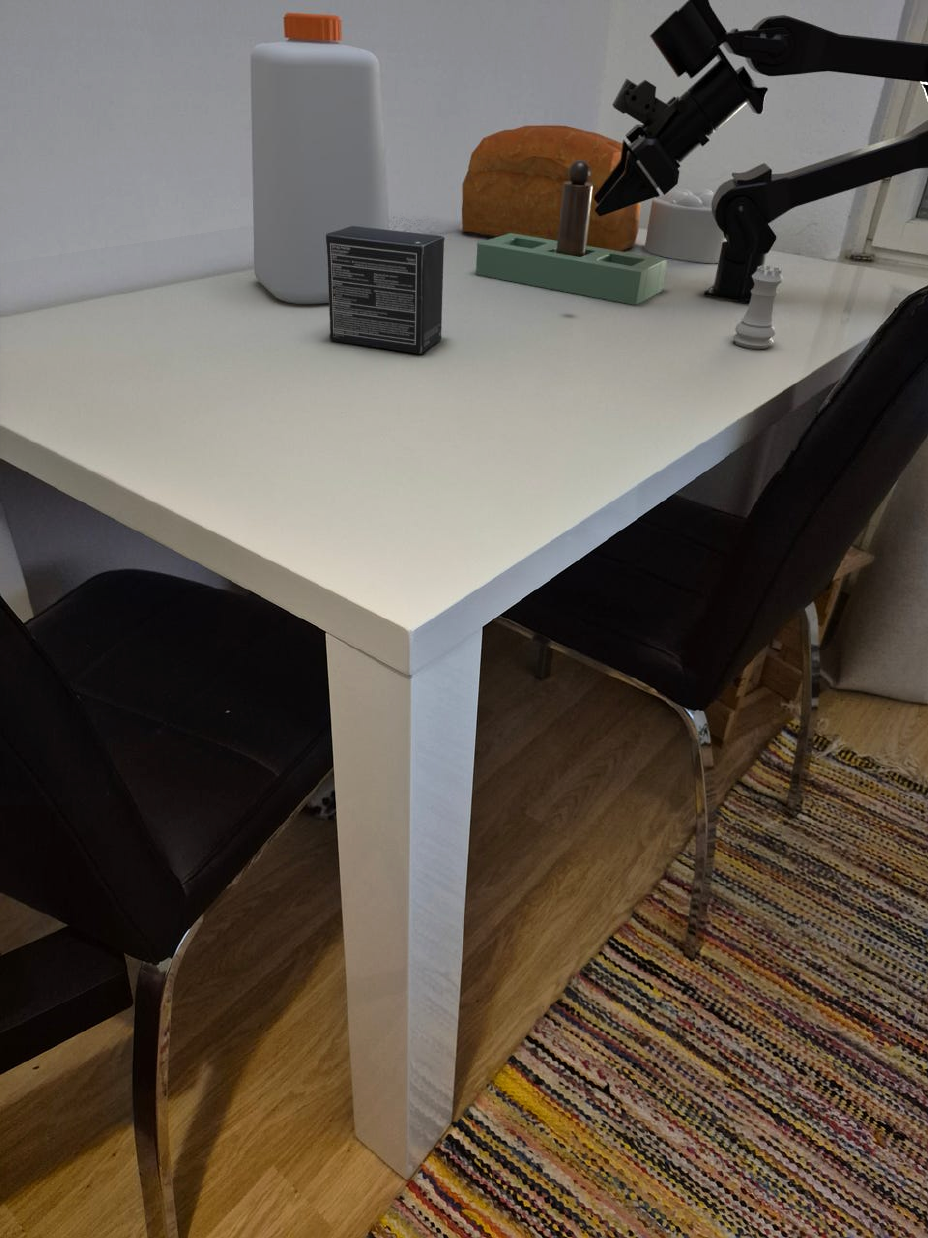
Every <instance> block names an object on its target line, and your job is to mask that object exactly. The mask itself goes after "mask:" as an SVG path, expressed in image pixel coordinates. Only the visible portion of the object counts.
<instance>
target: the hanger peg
mask: <svg viewBox="0 0 928 1238" xmlns="http://www.w3.org/2000/svg"><path fill="white" fill-rule="evenodd" d="M590 175H591V169H590V166H589V165H588V163H587V162H585V161H583V160H578V161H575V162H574V163H572V165H571V166H570V168H569V171H568V176H569V179H570V181H567V182H564V183H563V190H562V200H561V210H560V220H559V230H558V240H557V250H556V253H559V254H565V255H571V256H577V257H582V256H585V252H586V244H587V235H588V227H589V218H590V210H591V201H592V193H593V184H591V183H588V182H587V181H588V180H589V178H590Z"/></svg>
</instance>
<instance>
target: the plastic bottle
mask: <svg viewBox="0 0 928 1238" xmlns="http://www.w3.org/2000/svg"><path fill="white" fill-rule="evenodd" d="M283 28H284V29H283V30H284V32H283V33H284V38H285V39H287V40H283V41H275V42H266V43H265V42H264V43H259V44H257V45H255V46H254V47H253V48H252V50H251V52H250V107H251V109H250V110H251V161H252V164H251V165H252V216H253V217H252V221H253V225H252V226H253V268H254V269H253V271H254V276H255V278H256V280H257V281H258V282H259V283H260V284H261V285H262V286H264V288H265V289H267V291H268V292H270V294H272V295H273V296H274V297H275V298H276V299H278V300H279V301H282V302H284V303H288V304H289V303H290V304H296V305H319V304H329V285H328V257H327V244H326V234H327V233H331V232H334V231H338V230H341V229H345V228H348V227H351V226H357V227H367V228H375V229H384V230H391V226H390V210H389V209H390V208H389V193H388V192H389V191H388V179H387V165H386V163H387V162H386V147H385V133H384V132H385V131H384V116H383V102H382V83H381V69H380V61H379V60H378V58H377V57H376V55H375V54H374V53H373V52H372V51H370V50H368V49H367V50H366V49H363V48H359V47H355V46H353V45H352V46H351V45H347V44H343V43H340V41H343V35H342V33H343V32H342V30H343V29H342V28H343V27H342V19H341V17H340V16H339V15H336V14H321V13H320V14H318V13H301V12H286V13H285V14H284V16H283Z"/></svg>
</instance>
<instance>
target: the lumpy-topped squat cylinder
mask: <svg viewBox="0 0 928 1238" xmlns="http://www.w3.org/2000/svg"><path fill="white" fill-rule="evenodd" d="M715 193H716V192H713V191H712V190H711V189H707V188H703V189H699V190H696V191H694V192H693V193H692V192H691V190H689V189H688V188H681V187H680V188H676V189H674V190H670V191H669V192H668V193H666V194H665V195H664V194H663V193H662V194H660V196H659V197H654V198H652V200H651V205H650V212H649V217H648V224H647V231H646V236H645V243H644V250H645V251H647V252H648V253H651V254H654V255H655V256H660V257H662V258H663V257H664V258H666V259H674V260H680V261H687V262H693V263H702V264H718V263H719V258H720V253H721V248H722V243H723V242H725V241H727V240H726V238H724V234H723V232H722V230H721V229H720V228H719V227H718V225H717V223H716V221H715V219H714V216H713V213H712V206H711V203H712V200H713V196H714V194H715Z"/></svg>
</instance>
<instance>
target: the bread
mask: <svg viewBox="0 0 928 1238" xmlns="http://www.w3.org/2000/svg"><path fill="white" fill-rule="evenodd" d="M621 152H622V142H620V141H617V140H616V139H613V138H611V137H608V136H605V135H603V134H600V133H597V132H594V131H588V130H584V129H580V128H576V127H571V126H568V125H555V124H554V125H553V124H552V125H551V124H550V125H548V124H547V125H523V126H520V127H517V128H513V129H503V130H500V131H497V132H495V133H492V134H490V135H487V136H485V137H483V138H482V140H481V141H480V142H479V144H477V146H476V147H475V149H474V150H473V151H472V152H471V155H470V158H469V162H468V167H467V172H466V174H465V177H464V179H463V182H462V184H461V185H462V187H461V190H462V204H461V226H462V227H461V228H462V231H463V232H465V233H466V232H467V233H470V234H471V233H472V234H475V235H477V234H478V235H483V236H490V237H494V238H496V237H499V236H503V235H506V234H509V233H513V234H519V235H525V236H531V237H537V238H543V239H549V240H555V241H557V240H558V230H559V220H560V210H561V200H562V190H563V183H564V182H567V181H570V179H569V176H568V171H569V168H570V166H571V165H572V163H574V162H575V161H578V160H583V161H585V162H587V163H588V165H589V166H590V169H591V175H590V178H589V180H588V181H587V182H588V183H591V184H593V193H592V201H591V210H590V218H589V227H588V235H587V244H586V246H591V247H597V248H603V249H609V250H615V251H621V252H624V251H626V250H628V249H629V248H631V247H634V246H635V245H636V241H637V237H638V234H639V226H640V214H641V206H642V202H640V203H637V204H634V205H631V206H628V207H625V208H622V209H620V210H617V211H614V212H611V213H609V214H606V215H603V216H599V215H598V214H597V213H596V212H595V208H596V207H597V205H598V203H597V202H596V201H595V200H594V196H595V194H596V193H597V191H598V190H599V189H600V187H601V186H602V185H603V183H604V182H605V180H606V179H607V178H608V176H609V175H610V174H611V172H612V171H613V169H614V168H615V167H616V165H617V164H618V162H619V161H620V159H621Z"/></svg>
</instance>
